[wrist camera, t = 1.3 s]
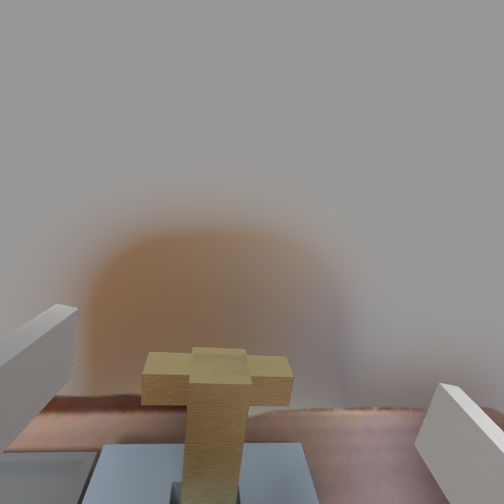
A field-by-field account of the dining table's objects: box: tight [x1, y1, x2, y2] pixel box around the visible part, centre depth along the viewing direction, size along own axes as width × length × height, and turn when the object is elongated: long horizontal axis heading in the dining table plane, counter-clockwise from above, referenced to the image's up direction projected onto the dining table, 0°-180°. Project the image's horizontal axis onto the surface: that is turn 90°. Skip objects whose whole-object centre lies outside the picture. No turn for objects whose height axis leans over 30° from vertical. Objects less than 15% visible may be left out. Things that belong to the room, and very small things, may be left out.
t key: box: [141, 347, 294, 504], centre depth 25 cm, size 10×4×18 cm, turn 97°
